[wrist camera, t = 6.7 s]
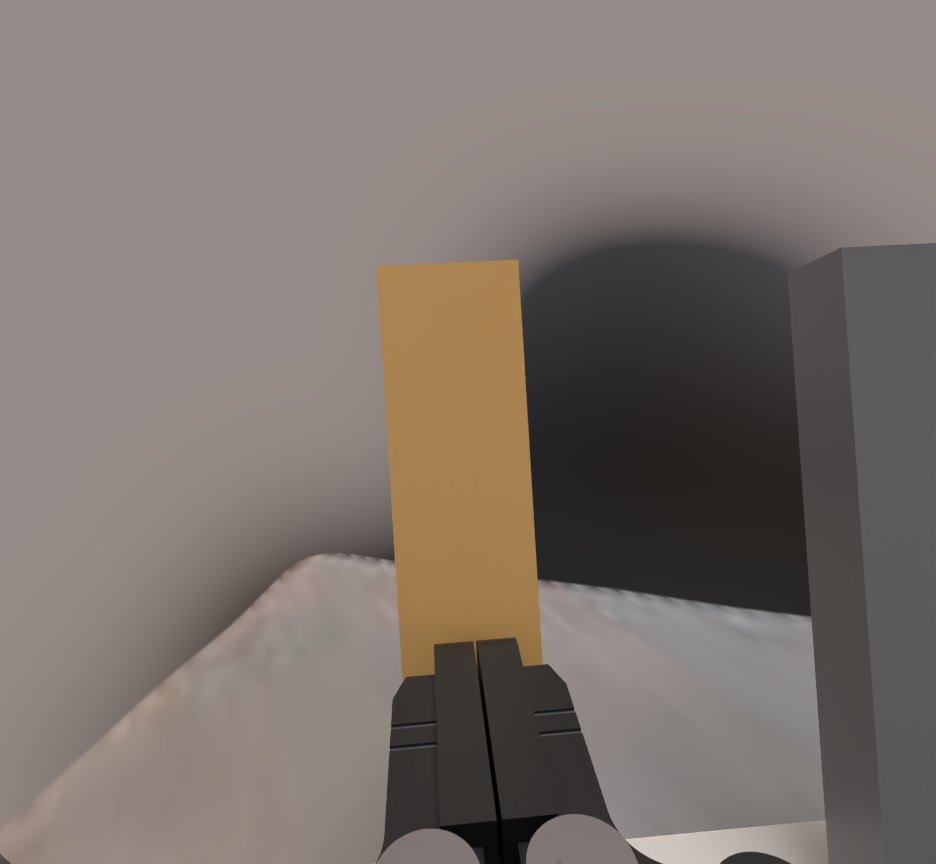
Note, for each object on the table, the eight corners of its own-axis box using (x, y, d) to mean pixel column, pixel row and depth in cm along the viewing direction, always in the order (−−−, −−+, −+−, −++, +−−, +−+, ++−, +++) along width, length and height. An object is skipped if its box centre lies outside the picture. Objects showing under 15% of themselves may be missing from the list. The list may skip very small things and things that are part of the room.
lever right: (942, 929, 14) (895, 269, 14) (1029, 1013, 12) (973, 239, 12) (830, 941, 13) (785, 274, 14) (899, 1028, 11) (844, 246, 12)
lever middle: (548, 970, 13) (506, 284, 13) (567, 1066, 11) (518, 258, 11) (428, 983, 13) (385, 290, 13) (427, 1082, 11) (376, 265, 11)
